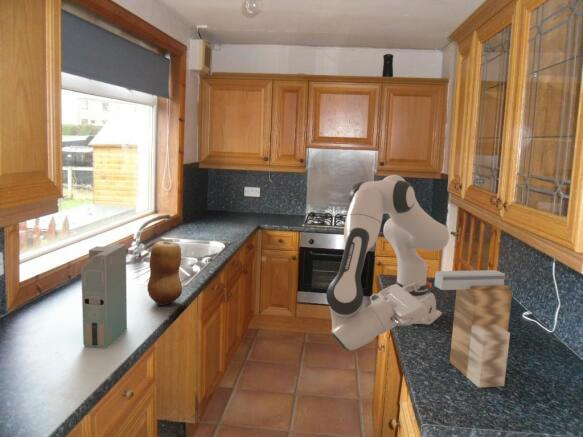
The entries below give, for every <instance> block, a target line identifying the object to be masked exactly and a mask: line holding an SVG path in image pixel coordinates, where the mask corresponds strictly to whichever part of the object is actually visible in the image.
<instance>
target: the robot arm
mask: <svg viewBox="0 0 583 437" xmlns="http://www.w3.org/2000/svg"><path fill="white" fill-rule="evenodd" d="M348 195H349V196H348V200H349V207H348V210H347V214H346V217H345V220H344V226H343V228H344V229H343V240H344V250H343V254H342V259H341V260H340V261H341V262H340V266H339V270H338V273H337V274H336V276H335V277H334V279H333V280H332V281H331V282H330V284H329V285H328V287H327V288H326V289H327V290H326V296H325V298H326V301H327V304H328V307H329V311H330V316H331V332H330V333H331V335H332V337H333V339H335V341H336V342H337V344H338V345H339V346H340V347H341V348H342V349H343V350H345V351H349V352H350V351H354V350H357V349H359V348H363V346H365V345H367V344H369V343H370V342H372V341H373V340H375V338H377V336H379V335H384V334H385V333H386V332H389V331H391V330H392V329H393V328H395V327H396V326H398V327H400V326H404V327H406V326H411V325H418V324H419V325H431V324H432V323H434V322H435V321H436V320H437V319H438V318H439V317H441V316H442V311H441V310H438V309H437V301H436V296H435V294H434V293H432V292H431V291H429V289H432V286H433V285H432V282H428V281H427V278H428V277H427V276H428V263H427V261H426V260H425V259H424V258H423V257H422V256H420V255H419V253H418V251H417V249H419V250H423V251H424V250H425V251H442V250H443V249H445V248H446V246H447V245H448V243H449V240H450V232H449V229H448V227H447V226H446V225H445V224H443V223H440V222H439V221H437V220H435V218H433V217H432V216H431V215H429V214H428V213H427V212H426V211H425V210H424V209H423V208H422V207H421V206H420V204H419V201H418V200H417V197H416V193H415V189H414V186H413V185H412V184H411V183H410V182H408V181H406V180H405V179H404V178H403V177H402V176H400V175H398V174H391V175H388V176H386V177H384V178H383V179H381V180H374V181H373V180H371V181H360V182H357V183H355V184H353V186H352V188H351V189H350V190H349V194H348ZM384 214H388V216H389V218H388V219H386V221H385V223H384V224H383V236H384V238H385V240H387V241H388V243H389V244H390V245H391V247H392V249H393V251H394V254H395V256H396V262H397V270H396V271H397V272H396V273H397V274H396V280H395V283H394V284H391V285H389V286H387V287H386V288H383V289H382V290H380V291H378V293H373V294H371V296H369V298H370V304H369V305H368V306H365V305H364V304H363V301H364V290H363V287H362V283H361V281H362V280H361V279H362V273H363V268H364V264H365V261H366V260H365V259H366V255H367V253H368V251H369V250H370V249H372V247H374V246H375V244H376V242H377V240H378V238H379V234H380V231H381V226H382V222H383V216H384Z"/></svg>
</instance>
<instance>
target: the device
mask: <svg viewBox="0 0 583 437" xmlns="http://www.w3.org/2000/svg"><path fill="white" fill-rule="evenodd" d="M80 274H81V300H82V301H81V305H82V306H81V307H82V340H83V343H82V344H83V346H84V347H86V348H97V349H98V348H100V349H108V348H109V347H111V346H112V344H114V343H115V341H117V340H118V338H119V337H121V336H122V335H123V334H124V333H125V332H126V330H128V317H127V316H128V312H127V310H128V309H127V308H128V306H127V304H128V303H127V245H126V243H117V244H115V245H113V246H95V247H93V248H90V249H88V260H87V262H86V263H85V264H84V265H83V266H81V273H80Z"/></svg>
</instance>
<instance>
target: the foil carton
mask: <svg viewBox="0 0 583 437" xmlns="http://www.w3.org/2000/svg"><path fill="white" fill-rule="evenodd" d="M505 279H506V274H505V273H503V272H501V271H499V270H496V269H494V270H493V269H492V270H490V269H489V270H488V269H485V270H482V269H481V270H436V271H435V275H434V285H433V286H434V287H436V288H437V289H439V290H441V291H456V290H464V289H471V286H505Z"/></svg>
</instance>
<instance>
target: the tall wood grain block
mask: <svg viewBox="0 0 583 437" xmlns="http://www.w3.org/2000/svg"><path fill="white" fill-rule="evenodd" d="M455 291H456V292H455V294H456V295H455V303H454V312H453V325H452V333H451V334H452V336H451V345H450V356H449V363H450V364H451V365H452V366H453V367H455V368H456V369H457V370H458V371H460V373H461V374H463V375H464V376H465V377H466V378H467V379H468V380H470V382H472V384H474V386H476V387H477V388H480V389H481V388H493V387H494V388H495V387H505V380H506V373H507V364H508V363H507V362H508V356H509V355H508V354H509V347H510V337H511V332H509V326H510V325H509V323H510V316H511V307H512V306H511V305H512V298H513V290H511V289H510V286H509V285H504V286H471V289H464V290H455Z"/></svg>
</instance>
